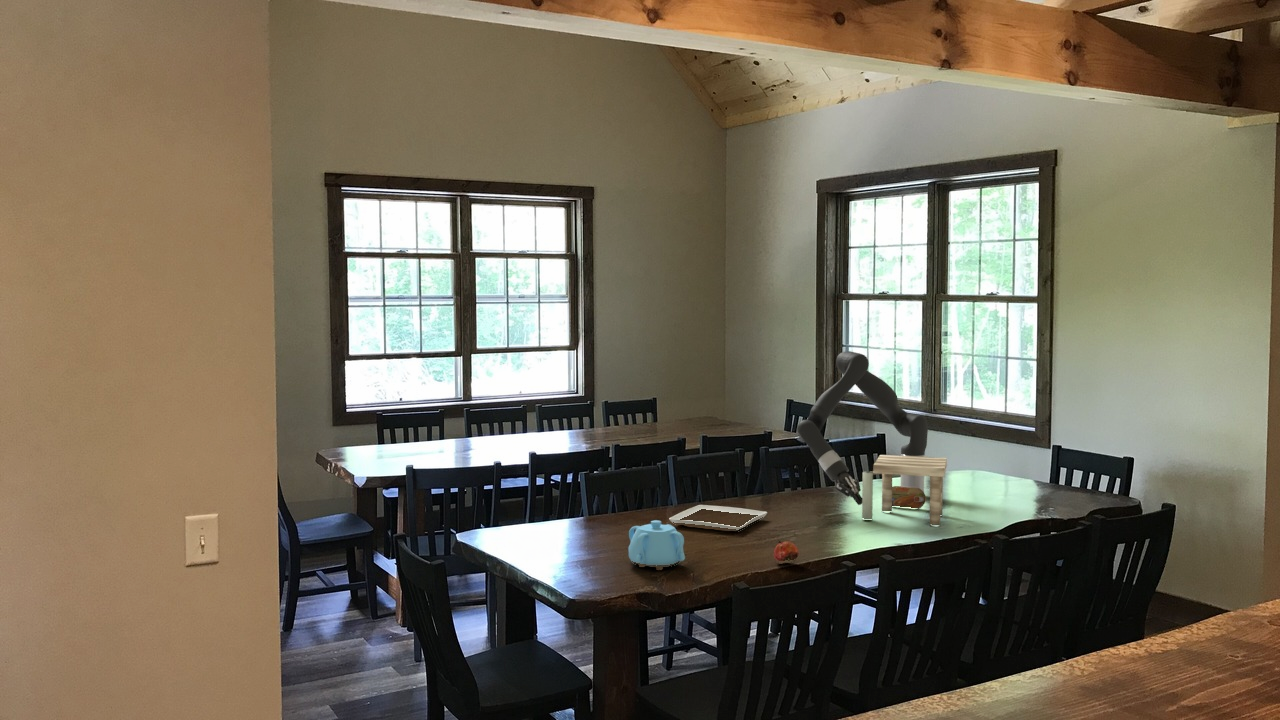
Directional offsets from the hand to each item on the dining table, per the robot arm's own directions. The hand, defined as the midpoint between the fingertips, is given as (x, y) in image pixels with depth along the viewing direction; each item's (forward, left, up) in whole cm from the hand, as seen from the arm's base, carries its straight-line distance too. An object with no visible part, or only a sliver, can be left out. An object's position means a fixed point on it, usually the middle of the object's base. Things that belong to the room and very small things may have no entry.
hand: (861, 503), depth 371 cm
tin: (-25, +14, -6) cm, 29 cm away
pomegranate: (+70, -14, -6) cm, 71 cm away
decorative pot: (+83, -51, -6) cm, 98 cm away
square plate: (+22, -48, -7) cm, 53 cm away
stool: (-6, +17, -6) cm, 19 cm away
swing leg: (-3, +5, -6) cm, 8 cm away
